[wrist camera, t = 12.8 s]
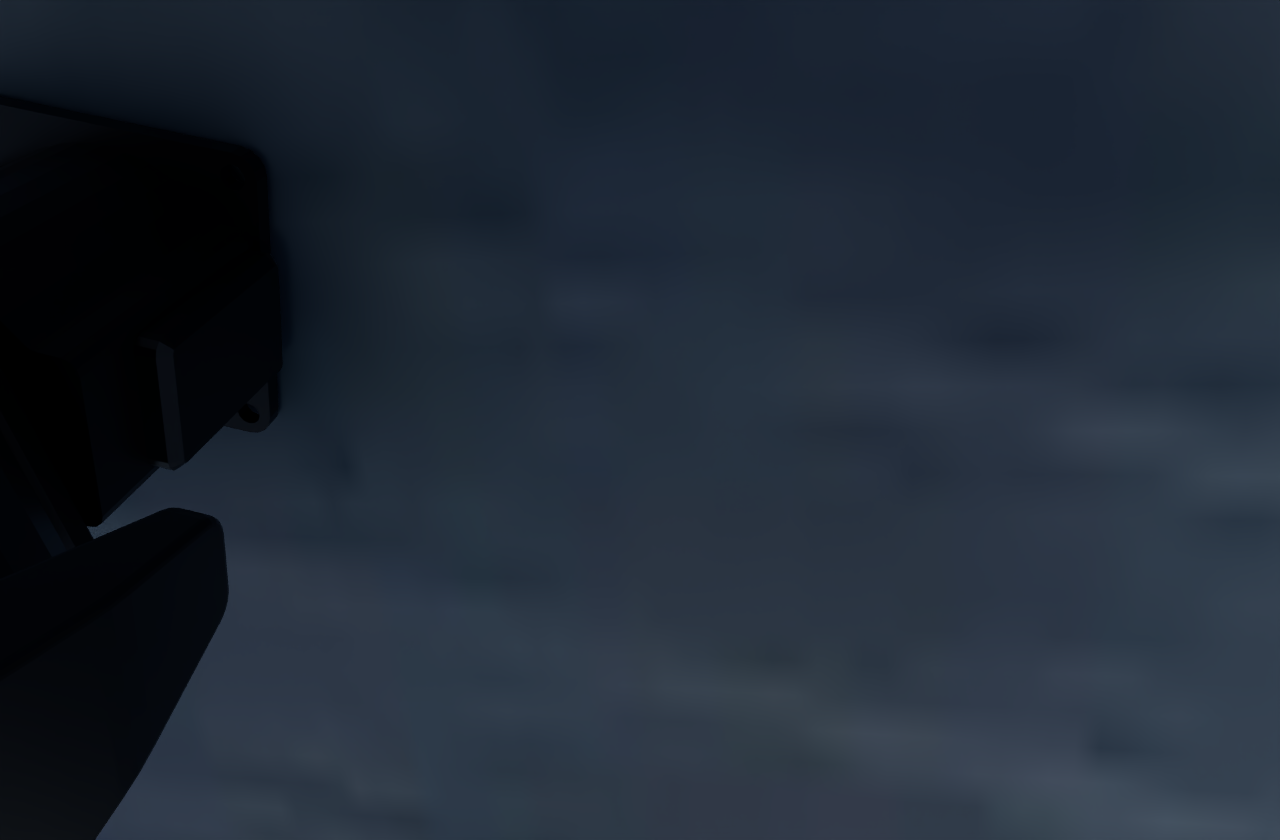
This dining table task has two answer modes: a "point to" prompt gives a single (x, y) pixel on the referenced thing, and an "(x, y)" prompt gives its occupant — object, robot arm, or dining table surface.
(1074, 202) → the dining table surface
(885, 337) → the dining table surface
